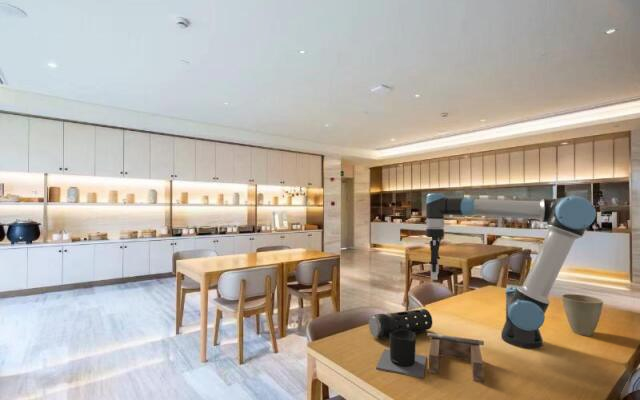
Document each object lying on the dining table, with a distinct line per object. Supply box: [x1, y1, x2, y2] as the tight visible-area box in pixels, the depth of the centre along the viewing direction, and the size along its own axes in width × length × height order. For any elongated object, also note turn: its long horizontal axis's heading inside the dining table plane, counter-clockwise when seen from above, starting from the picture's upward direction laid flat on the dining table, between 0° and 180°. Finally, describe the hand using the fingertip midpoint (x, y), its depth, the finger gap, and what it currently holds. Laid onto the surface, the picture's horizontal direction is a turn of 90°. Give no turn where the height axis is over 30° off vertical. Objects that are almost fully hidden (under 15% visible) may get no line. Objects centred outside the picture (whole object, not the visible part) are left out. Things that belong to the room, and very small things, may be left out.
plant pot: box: [561, 293, 604, 337], centre depth 152 cm, size 15×15×16 cm
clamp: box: [426, 332, 485, 383], centre depth 120 cm, size 20×17×8 cm
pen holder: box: [389, 329, 417, 367], centre depth 121 cm, size 9×9×10 cm
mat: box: [375, 348, 427, 379], centre depth 121 cm, size 16×16×1 cm
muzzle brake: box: [368, 308, 433, 339], centre depth 147 cm, size 10×28×10 cm, turn 111°
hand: (434, 276), depth 146 cm, fingers open, 13 cm apart
